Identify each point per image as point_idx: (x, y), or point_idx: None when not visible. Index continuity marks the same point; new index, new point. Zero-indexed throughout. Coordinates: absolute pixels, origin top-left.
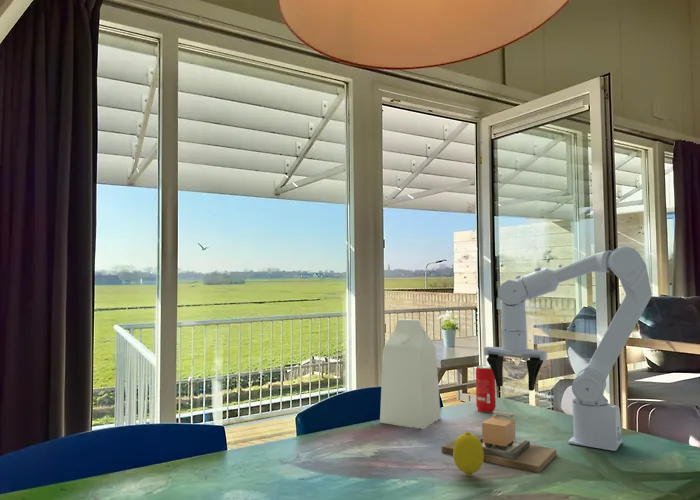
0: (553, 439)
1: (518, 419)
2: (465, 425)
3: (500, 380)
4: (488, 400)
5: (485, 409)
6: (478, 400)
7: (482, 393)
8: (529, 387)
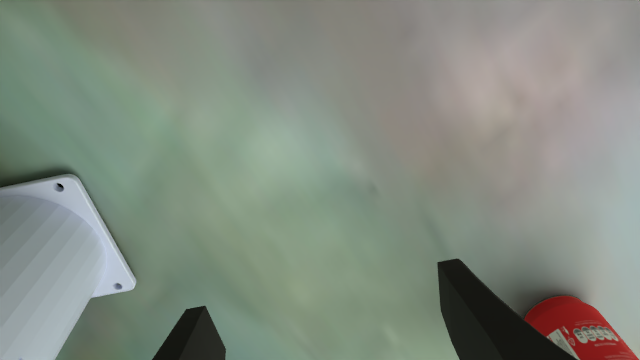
0: (155, 183)
1: (400, 303)
2: (551, 86)
3: (456, 319)
4: (559, 341)
5: (551, 305)
6: (603, 326)
7: (604, 357)
8: (190, 322)
